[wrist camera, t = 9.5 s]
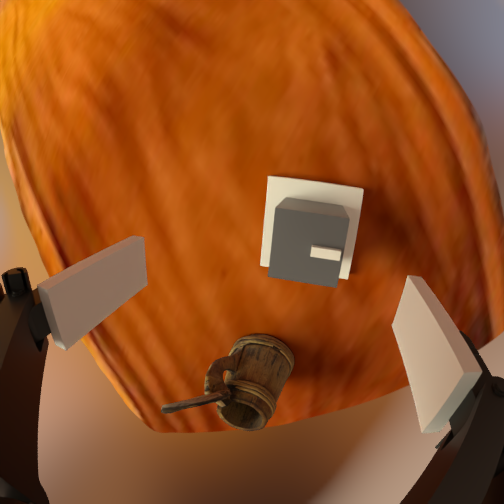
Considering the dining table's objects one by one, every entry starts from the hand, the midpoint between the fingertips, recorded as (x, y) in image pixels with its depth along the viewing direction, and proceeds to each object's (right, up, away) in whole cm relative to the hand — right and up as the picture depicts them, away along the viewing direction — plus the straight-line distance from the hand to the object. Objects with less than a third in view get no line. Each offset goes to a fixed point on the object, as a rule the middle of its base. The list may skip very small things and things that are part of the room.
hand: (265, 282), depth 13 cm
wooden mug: (0, -12, +25) cm, 27 cm away
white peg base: (+6, +4, +17) cm, 19 cm away
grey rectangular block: (+6, +4, +16) cm, 17 cm away
